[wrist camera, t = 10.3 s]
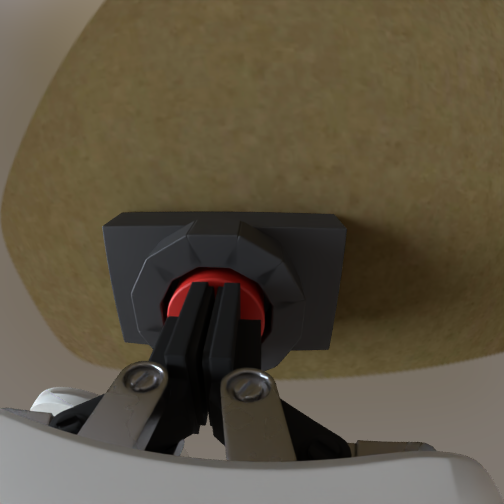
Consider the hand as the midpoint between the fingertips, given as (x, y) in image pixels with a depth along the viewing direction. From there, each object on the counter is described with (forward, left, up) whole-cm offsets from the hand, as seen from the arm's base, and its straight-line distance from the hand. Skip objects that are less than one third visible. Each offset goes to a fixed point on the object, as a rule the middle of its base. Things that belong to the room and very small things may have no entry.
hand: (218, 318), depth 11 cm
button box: (0, 0, -4) cm, 4 cm away
